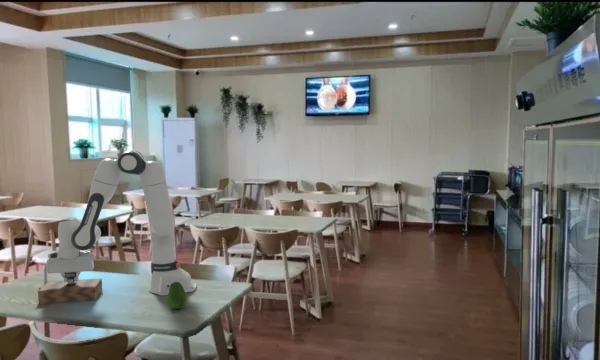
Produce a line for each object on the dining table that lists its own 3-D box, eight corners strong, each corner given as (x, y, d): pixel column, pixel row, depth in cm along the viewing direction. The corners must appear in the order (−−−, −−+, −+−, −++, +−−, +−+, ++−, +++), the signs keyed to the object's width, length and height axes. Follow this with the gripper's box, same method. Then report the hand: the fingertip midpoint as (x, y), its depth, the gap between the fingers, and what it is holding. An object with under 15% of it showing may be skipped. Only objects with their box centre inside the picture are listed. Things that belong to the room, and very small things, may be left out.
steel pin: (78, 286, 218) (78, 270, 218) (75, 290, 213) (74, 273, 213) (67, 287, 217) (66, 271, 217) (64, 290, 213) (63, 274, 212)
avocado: (170, 305, 204) (169, 279, 203) (187, 305, 204) (187, 279, 203) (166, 312, 196) (165, 285, 195) (184, 311, 196) (184, 284, 195)
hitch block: (102, 290, 225) (101, 278, 224) (95, 300, 211) (94, 287, 211) (49, 293, 220) (48, 281, 220) (38, 303, 207) (37, 290, 206)
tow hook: (49, 285, 234) (36, 290, 225) (49, 260, 233) (36, 264, 224) (64, 286, 233) (52, 291, 224) (64, 261, 232) (52, 265, 223)
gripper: (95, 249, 219) (96, 277, 220) (48, 251, 215) (50, 280, 216) (91, 252, 213) (93, 281, 214) (43, 255, 209) (45, 284, 210)
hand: (71, 281), depth 215 cm, fingers closed on steel pin, 3 cm apart
